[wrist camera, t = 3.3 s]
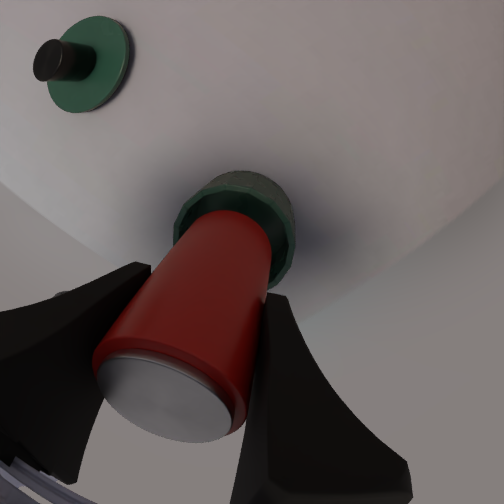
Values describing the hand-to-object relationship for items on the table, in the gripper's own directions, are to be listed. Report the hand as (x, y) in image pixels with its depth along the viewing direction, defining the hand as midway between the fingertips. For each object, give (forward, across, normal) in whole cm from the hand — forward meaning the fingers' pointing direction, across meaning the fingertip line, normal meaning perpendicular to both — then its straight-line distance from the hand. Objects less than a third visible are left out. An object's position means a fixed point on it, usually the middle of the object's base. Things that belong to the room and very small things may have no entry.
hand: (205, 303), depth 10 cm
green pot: (+8, 0, 0) cm, 8 cm away
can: (+4, 0, 0) cm, 4 cm away
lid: (+8, +11, -9) cm, 16 cm away
